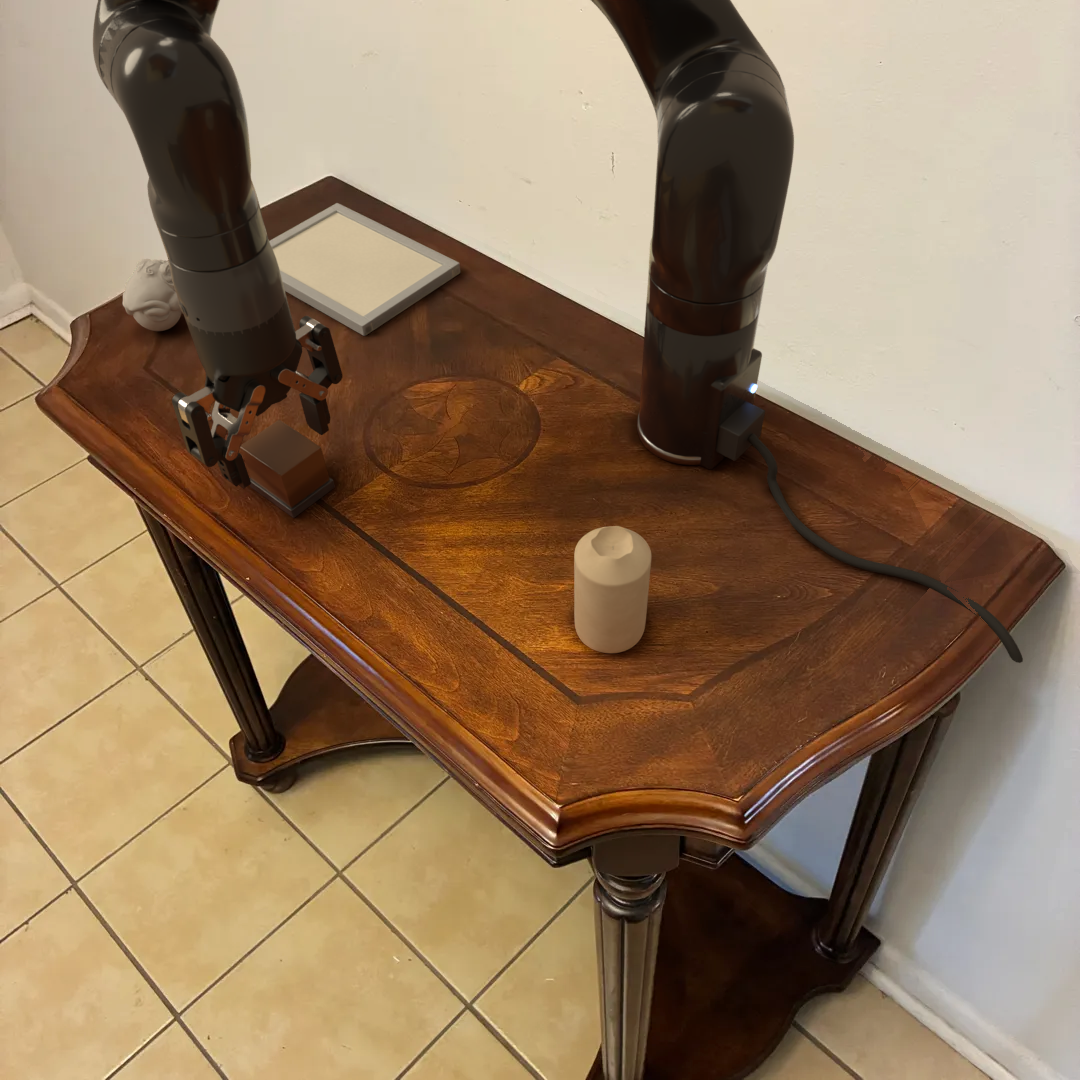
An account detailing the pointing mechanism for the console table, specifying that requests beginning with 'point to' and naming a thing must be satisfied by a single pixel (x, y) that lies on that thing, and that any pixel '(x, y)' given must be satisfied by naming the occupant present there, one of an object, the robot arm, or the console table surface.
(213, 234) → the robot arm
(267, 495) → the eraser
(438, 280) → the whiteboard
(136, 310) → the frog figurine
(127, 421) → the console table surface
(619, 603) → the candle
